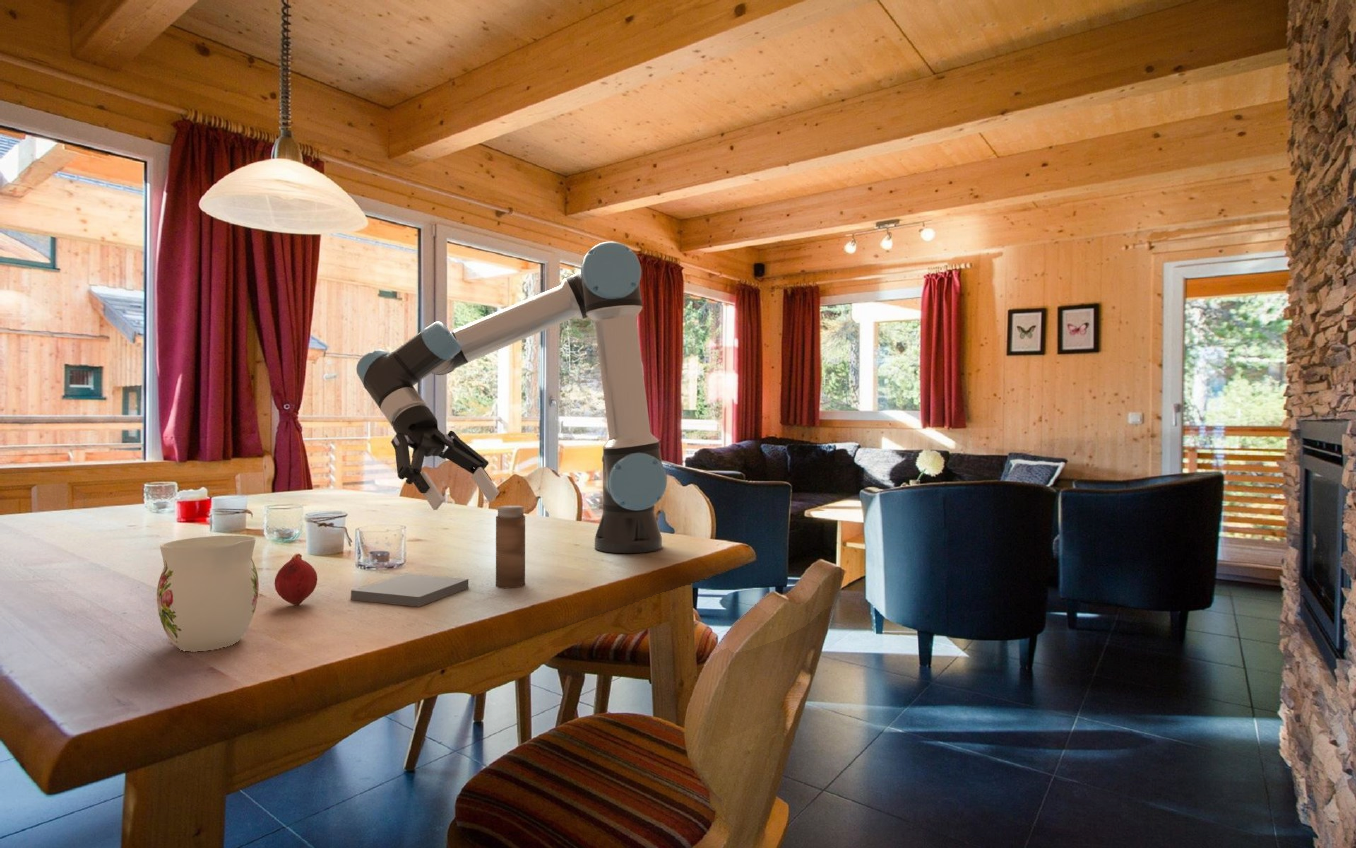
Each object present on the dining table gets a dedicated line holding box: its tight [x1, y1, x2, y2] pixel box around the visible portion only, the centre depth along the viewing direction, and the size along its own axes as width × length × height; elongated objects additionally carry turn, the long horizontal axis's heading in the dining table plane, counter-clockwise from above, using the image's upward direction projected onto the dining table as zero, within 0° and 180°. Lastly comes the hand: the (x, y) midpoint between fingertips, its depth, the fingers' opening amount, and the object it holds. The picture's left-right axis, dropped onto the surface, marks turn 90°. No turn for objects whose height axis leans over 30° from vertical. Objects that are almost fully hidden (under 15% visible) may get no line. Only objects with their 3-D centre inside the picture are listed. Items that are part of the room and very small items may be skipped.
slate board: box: [350, 573, 469, 608], centre depth 120 cm, size 13×13×2 cm
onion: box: [273, 553, 318, 606], centre depth 112 cm, size 6×6×8 cm
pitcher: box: [156, 535, 260, 653], centre depth 94 cm, size 11×18×14 cm, turn 45°
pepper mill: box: [495, 505, 526, 589], centre depth 127 cm, size 5×5×14 cm
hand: (468, 501), depth 131 cm, fingers open, 13 cm apart
